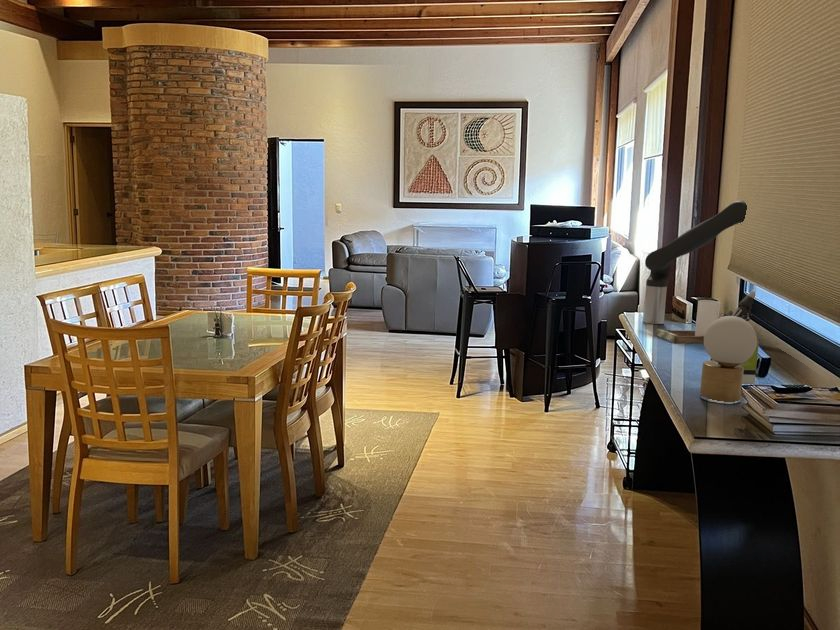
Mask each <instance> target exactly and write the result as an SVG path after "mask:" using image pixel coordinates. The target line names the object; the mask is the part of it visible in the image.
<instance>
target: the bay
mask: <svg viewBox="0 0 840 630" xmlns="http://www.w3.org/2000/svg"><path fill="white" fill-rule="evenodd" d="M656 335H657V336H656V337H658V336H659V337H658V338H661V337H662V338H661V339H663V338H664V340H666V339H667V340H666V341H668V340H669V341H668V342H671V343H673V342H674V344H689V343H690V344H704V336H695V329H662V328H656Z"/></svg>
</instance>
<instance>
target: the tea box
mask: <svg viewBox="0 0 840 630" xmlns="http://www.w3.org/2000/svg"><path fill="white" fill-rule="evenodd" d="M759 343H760V342H759V340H757V346H756V349H755V352H754V353H753V355H752V356H751V357H750V358H749V359H748V360H747V361H745V362H743V363H742V364H740V365H742V366H744V373H743V382H742V384H754V385H755V382H756V374H757V373H756V372H757V361H758V355H759V354H758V353H759ZM709 357H710V356H709ZM711 360H713V359H712V358H711V357H710V358H709V361H711Z"/></svg>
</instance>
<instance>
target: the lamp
mask: <svg viewBox="0 0 840 630" xmlns="http://www.w3.org/2000/svg"><path fill="white" fill-rule="evenodd" d="M757 341H758V337H757V333H756V330H755V329H754V327H753V325H751V323H749V321H746V320H744V319H742V318H740V317H736V316H728V315H725V316H721V317H718V319H716V320H715V321H713V322H712V323H711V324H710V325H709V326H708V328H707V330H706V332H705V335H704V343H703V345H704V349H705V351H706V353H707V355H708V356H709V357H711V358H712V359H713V360H711V361H710V360H704V361H702V367H701V368H702V369H701V377H700V387H699V396H700V395H701V396H703V397H706V398H708V399H712V400H717V401H724V402H735V401H739V400H740V399H741V398H742V391H741V390H740V389H741V387H742V388H743V386H742V382H743V373H744V366H742V365H740V364H742V363H743V362H745V361H747V360H748V359H749V358H750V357H751V356H752V355H753V353H754V352H755V349H756V346H757ZM741 400H742V399H741Z"/></svg>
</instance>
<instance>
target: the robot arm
mask: <svg viewBox="0 0 840 630" xmlns="http://www.w3.org/2000/svg"><path fill="white" fill-rule="evenodd" d="M744 201H745V200H743V199H742V200H736V201H733V202H732V203H730V204H729V205H728V206H727V207H725V208H724V209H722V210H721V211H720V212H718V213H716V215H714V216H712V217H710V218H708V219H706V220H704V221H703V222H700V223H698V224H697V225H694V226H693V227H692V228H689V230H687V231H685V232H684V233H682V234H681V235H679V236H678V237H676V238H675V239H674V240H673V241H670V242H669V243H668V244H666V245H664V246H662V247H660V248H658V249H655V250H653V251H652V252H650V253H648V254H647V256H646V258H645V261H644V265H645V267H646V269H648V270H649V271H650V272H649V276H648V277H647V279H646V280H645V281H646V283H645V284H646V285H645V294H644V295H645V296H644V303H643V313H642V314H643V316H642V322H643V323H645V324H651V325H663V324H664V323H665V311H666V300H667V291H668V289H667V288H668V282H669V280H670V274H671V269H672V268H671V266H672V261H674V260H676V259H678V258H679V257H683V256H685V255H688V254H690V253H693V252H694V251H696V250H698V249H701V248H702V247H705V245H707V244H709V243H710V242H712V241H713V240H714V239H715V238H716V237H717V236H718V235H719V234H721V233H722V232H724V231H725V230H728V229H729V228H731V227H733V226H735V225H738V224H741V222H743V221H744V219H745V215H746V210H747V205H746V203H745V202H744ZM754 297H755V290H754V289H752V290H751V291H750V292H749V293H748V294H746V296H745V297H744V298H742V300H741V301H739V304H738V305H739V307H737V308H736V309H735V310H734V311H733V310H729V312H728V313H727V316H736V317H740V318H742V319H744V320H746V321H747V322H750V321H751V319H750V316H751V315H750V313H751V309H752V304H753V299H754Z"/></svg>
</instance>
